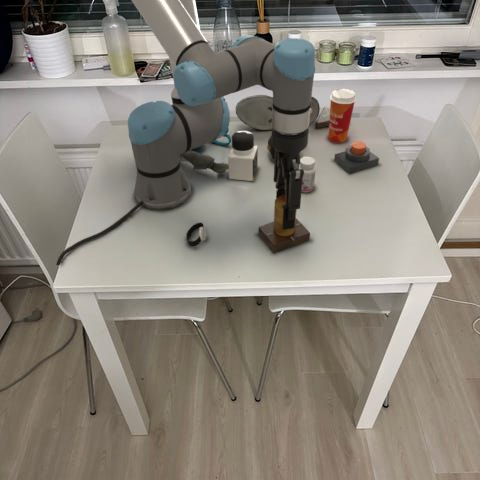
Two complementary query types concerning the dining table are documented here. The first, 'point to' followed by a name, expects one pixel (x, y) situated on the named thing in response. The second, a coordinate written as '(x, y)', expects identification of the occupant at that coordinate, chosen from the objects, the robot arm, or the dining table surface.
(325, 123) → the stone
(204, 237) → the watch
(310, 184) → the pill bottle
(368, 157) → the button box
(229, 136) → the scissors
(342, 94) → the paper cup
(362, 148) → the button
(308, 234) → the panel
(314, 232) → the dining table surface
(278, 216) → the lock knob
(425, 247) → the dining table surface
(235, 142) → the medicine bottle
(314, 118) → the shoe
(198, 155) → the statue
